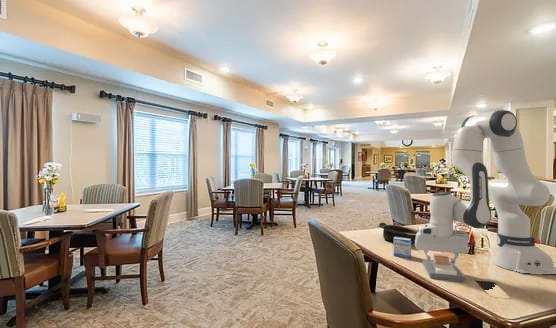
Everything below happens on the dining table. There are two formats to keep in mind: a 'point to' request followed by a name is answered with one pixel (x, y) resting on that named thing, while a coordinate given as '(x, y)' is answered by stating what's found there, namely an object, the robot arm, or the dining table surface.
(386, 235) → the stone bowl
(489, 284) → the smartphone
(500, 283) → the dining table surface
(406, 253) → the medicine box
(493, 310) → the dining table surface
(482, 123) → the robot arm
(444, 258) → the stub
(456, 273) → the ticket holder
